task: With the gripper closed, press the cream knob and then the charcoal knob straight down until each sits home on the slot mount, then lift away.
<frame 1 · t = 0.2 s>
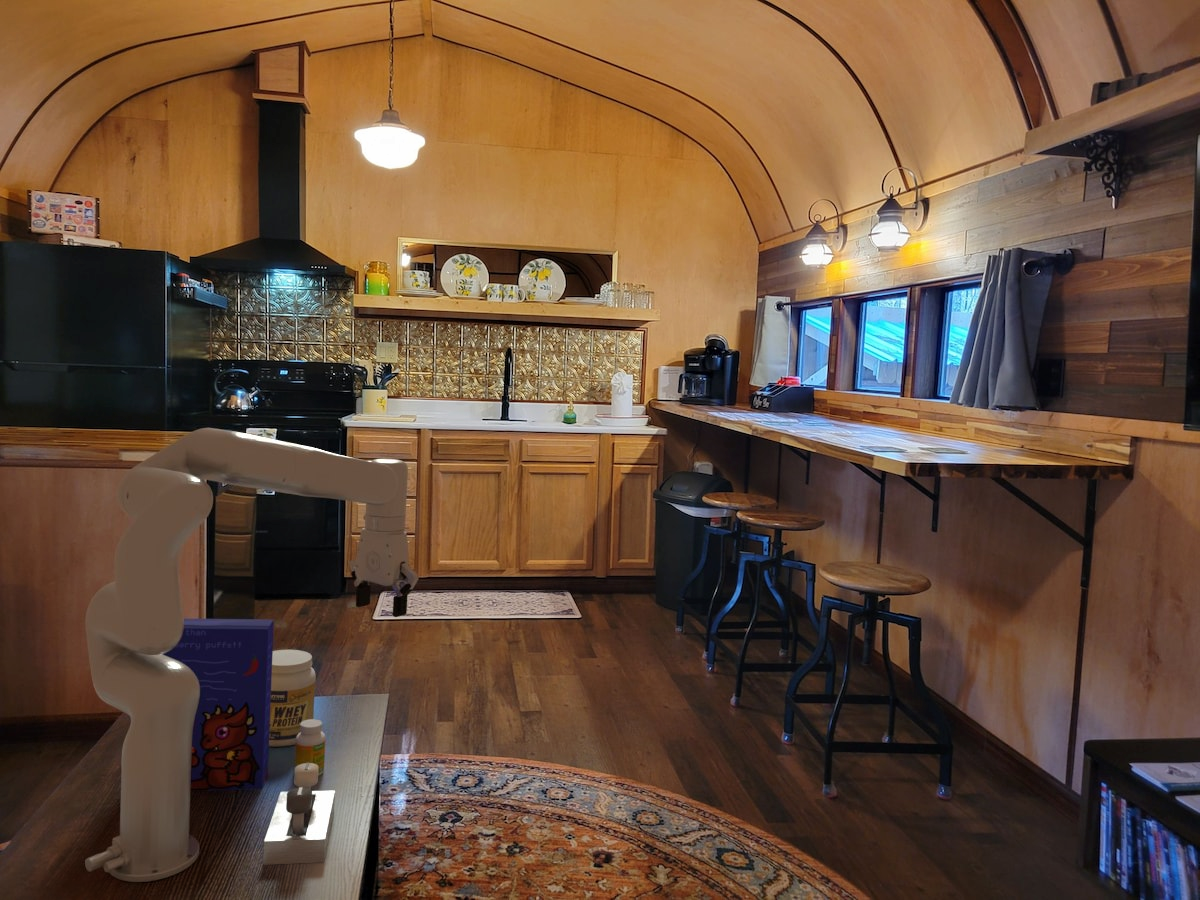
hand: (380, 610, 169), 31 cm above the table, fingers open, 9 cm apart
charcoal knob: (298, 812, 139), point 6 cm above the table, slide at 0.0 cm
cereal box: (201, 783, 159), on the table
mount: (300, 836, 143), on the table
cream knob: (305, 785, 147), point 6 cm above the table, slide at 0.0 cm
supplement bottle: (309, 773, 166), on the table
supplement tub: (282, 737, 181), on the table
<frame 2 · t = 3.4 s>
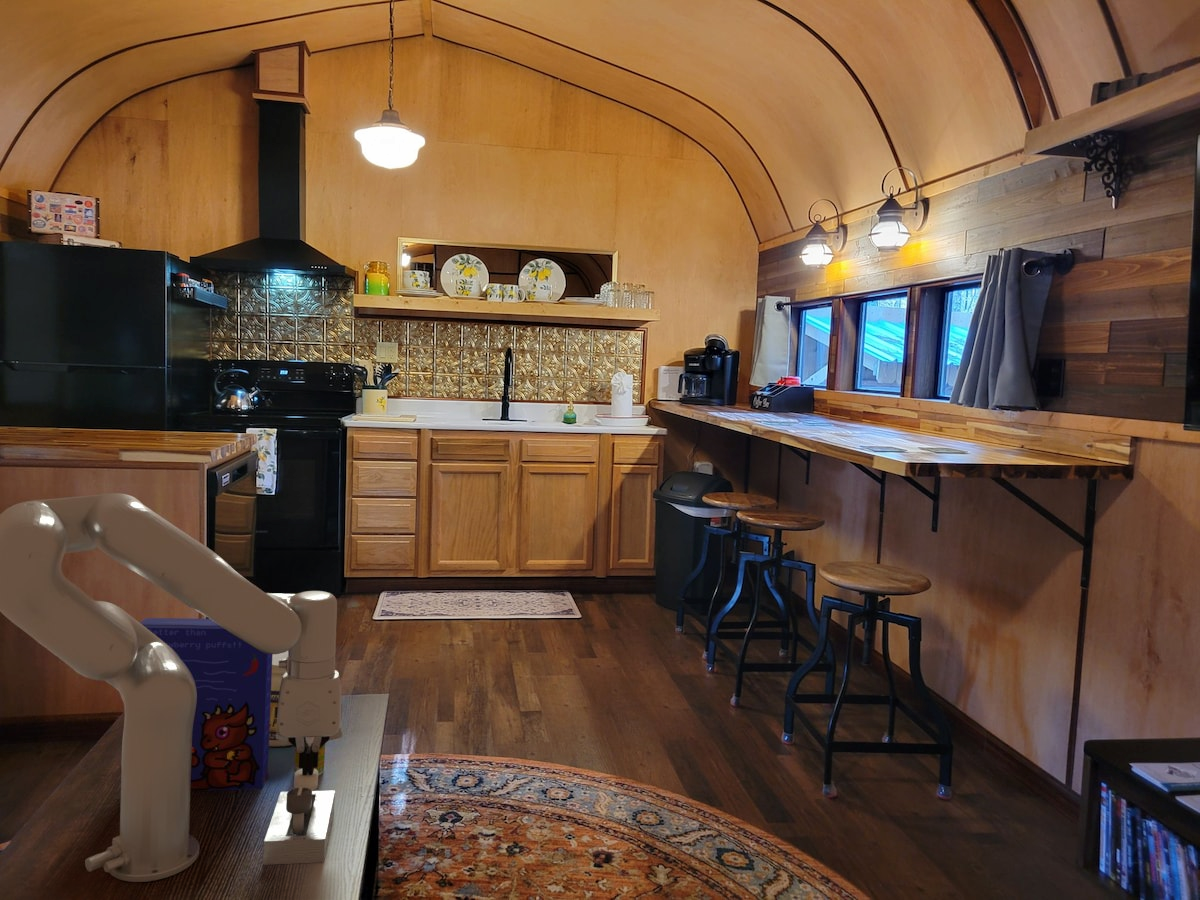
hand: (308, 771, 147), 9 cm above the table, fingers closed
cream knob: (305, 790, 147), point 6 cm above the table, slide at 0.9 cm, touching gripper
everything else where it was.
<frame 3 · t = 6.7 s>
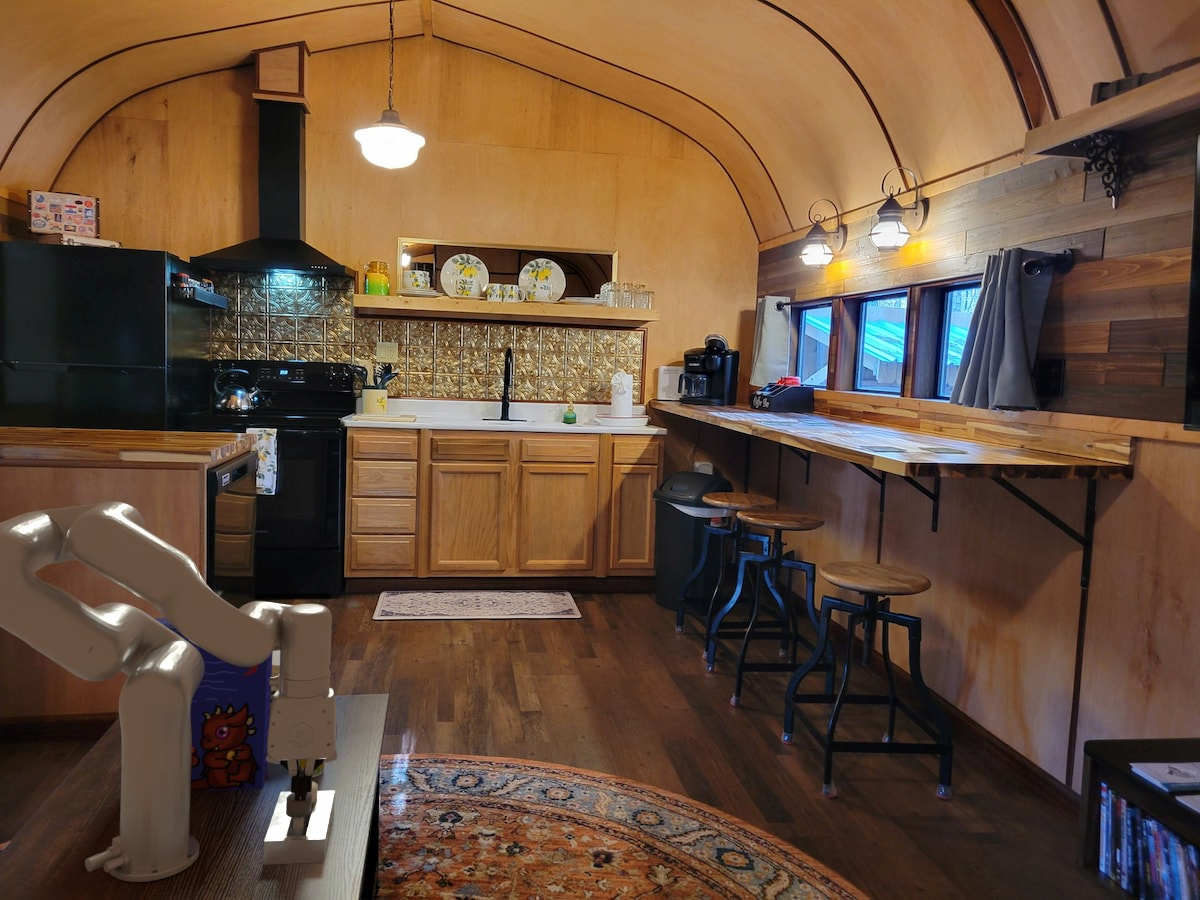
hand: (301, 796, 138), 9 cm above the table, fingers closed
charcoal knob: (298, 816, 139), point 6 cm above the table, slide at 0.7 cm, touching gripper
cream knob: (305, 804, 148), point 3 cm above the table, slide at 3.2 cm
everything else where it was.
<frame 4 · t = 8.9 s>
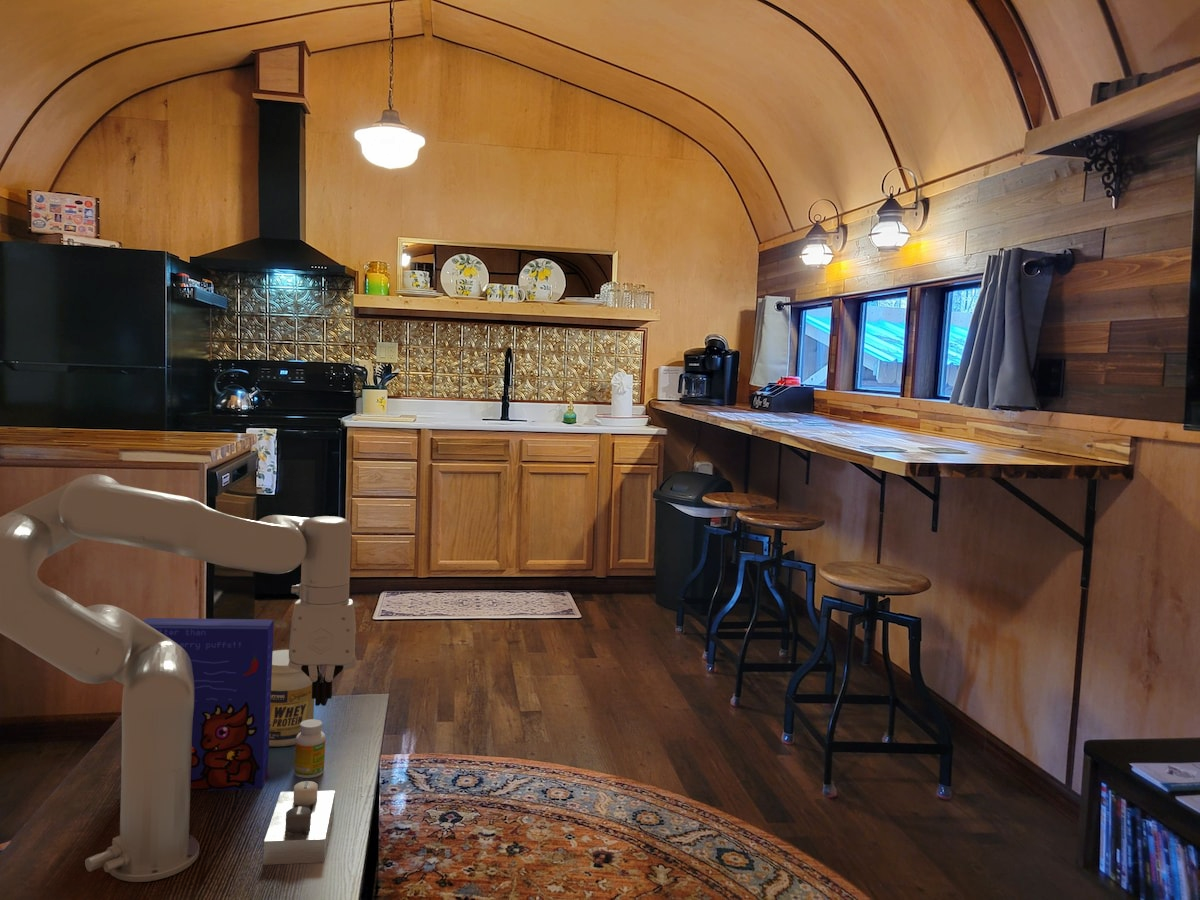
hand: (321, 702, 143), 22 cm above the table, fingers closed
charcoal knob: (297, 831, 139), point 3 cm above the table, slide at 3.2 cm
everything else where it was.
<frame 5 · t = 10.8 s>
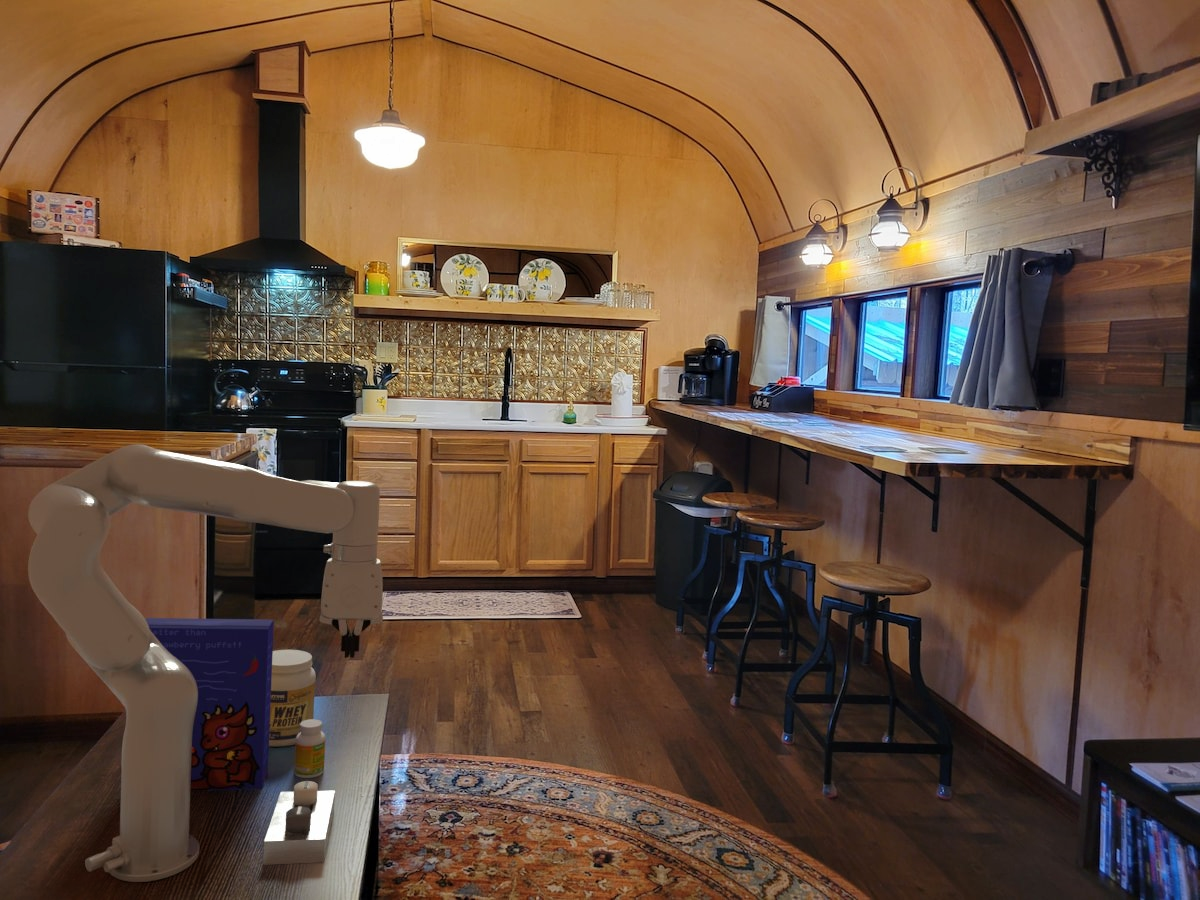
hand: (349, 655, 153), 27 cm above the table, fingers closed
nothing on the table moved.
at the end: cream knob slide at 3.2 cm; charcoal knob slide at 3.2 cm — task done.
